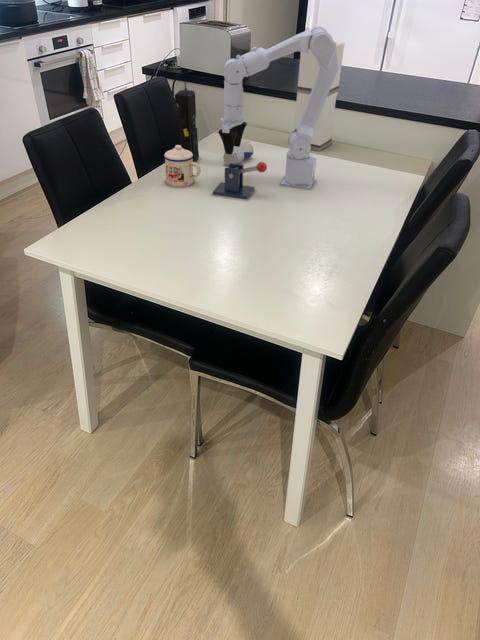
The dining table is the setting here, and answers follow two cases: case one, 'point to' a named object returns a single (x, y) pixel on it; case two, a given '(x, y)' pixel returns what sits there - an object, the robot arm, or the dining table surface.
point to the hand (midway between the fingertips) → (232, 149)
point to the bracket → (233, 184)
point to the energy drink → (239, 154)
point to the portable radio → (187, 121)
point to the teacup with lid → (180, 167)
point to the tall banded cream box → (325, 120)
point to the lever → (254, 168)
